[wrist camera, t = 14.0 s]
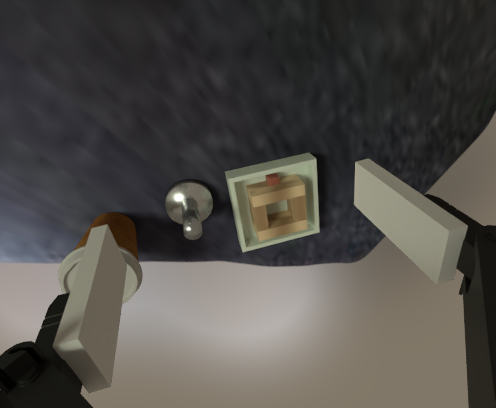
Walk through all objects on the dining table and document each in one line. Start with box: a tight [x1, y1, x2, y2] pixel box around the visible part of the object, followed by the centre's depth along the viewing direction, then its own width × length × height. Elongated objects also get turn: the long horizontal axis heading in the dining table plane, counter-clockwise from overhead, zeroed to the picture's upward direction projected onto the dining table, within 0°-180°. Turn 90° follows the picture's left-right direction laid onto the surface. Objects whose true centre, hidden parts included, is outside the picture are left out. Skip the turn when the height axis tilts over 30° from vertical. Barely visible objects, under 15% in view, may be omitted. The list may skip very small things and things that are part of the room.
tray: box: [225, 153, 319, 252], centre depth 51 cm, size 13×13×3 cm
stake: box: [165, 179, 213, 240], centre depth 45 cm, size 7×7×9 cm
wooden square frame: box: [246, 173, 308, 241], centre depth 50 cm, size 8×9×4 cm
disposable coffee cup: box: [58, 212, 142, 304], centre depth 43 cm, size 10×10×12 cm
